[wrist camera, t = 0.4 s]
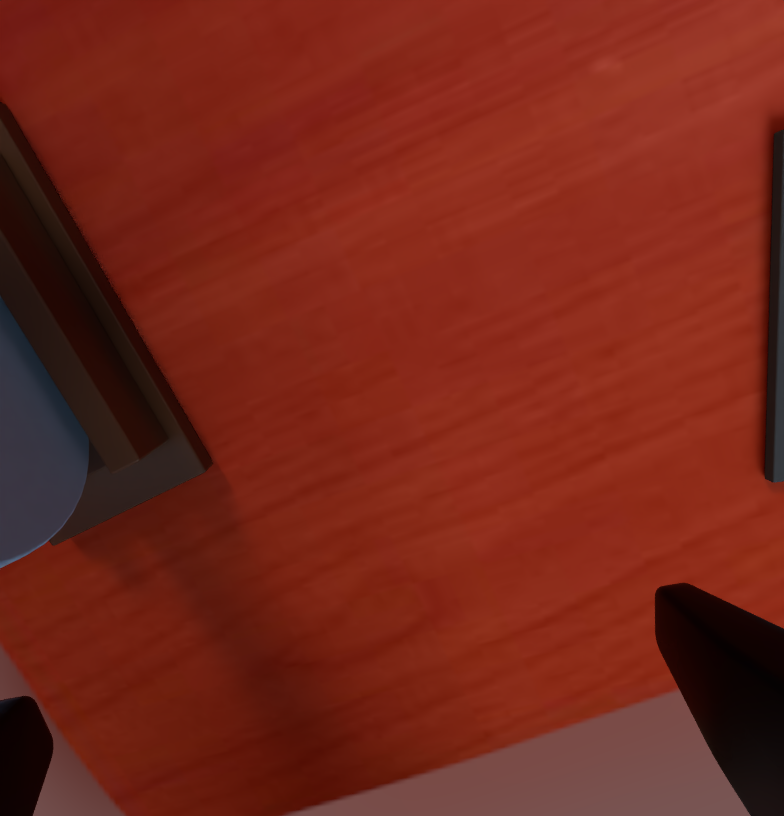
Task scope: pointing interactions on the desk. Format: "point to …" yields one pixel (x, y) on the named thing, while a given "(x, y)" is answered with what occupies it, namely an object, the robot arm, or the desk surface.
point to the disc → (34, 448)
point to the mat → (776, 325)
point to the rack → (87, 347)
